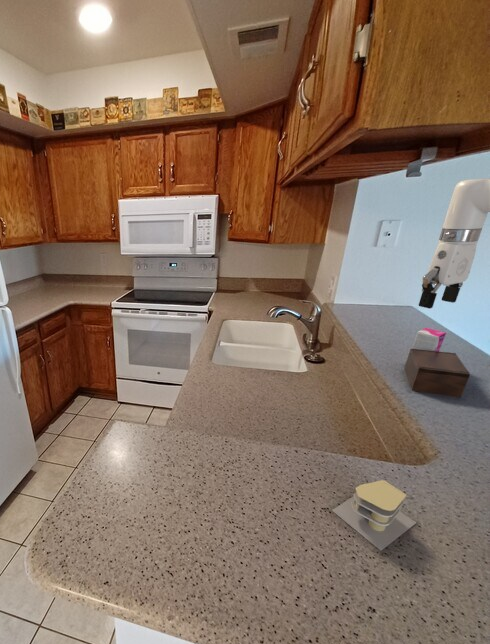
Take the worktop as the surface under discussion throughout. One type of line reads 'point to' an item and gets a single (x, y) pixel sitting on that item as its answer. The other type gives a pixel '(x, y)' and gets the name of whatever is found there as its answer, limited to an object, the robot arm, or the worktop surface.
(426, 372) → the dark wooden box
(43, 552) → the worktop surface
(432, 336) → the supplement box
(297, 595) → the worktop surface
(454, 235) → the robot arm
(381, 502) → the stacked layers on plate
